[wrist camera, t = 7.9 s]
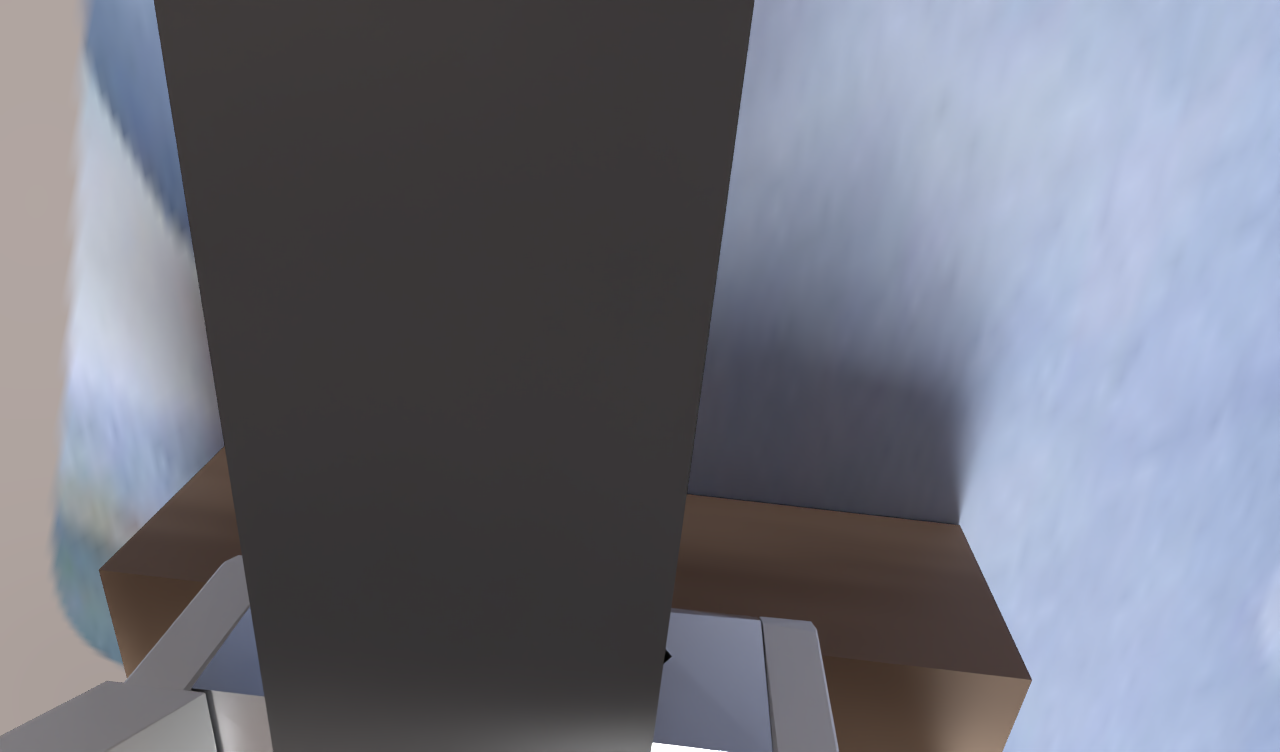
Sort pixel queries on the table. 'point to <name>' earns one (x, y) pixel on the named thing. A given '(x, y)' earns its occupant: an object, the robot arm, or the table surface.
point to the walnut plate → (722, 605)
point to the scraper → (457, 347)
